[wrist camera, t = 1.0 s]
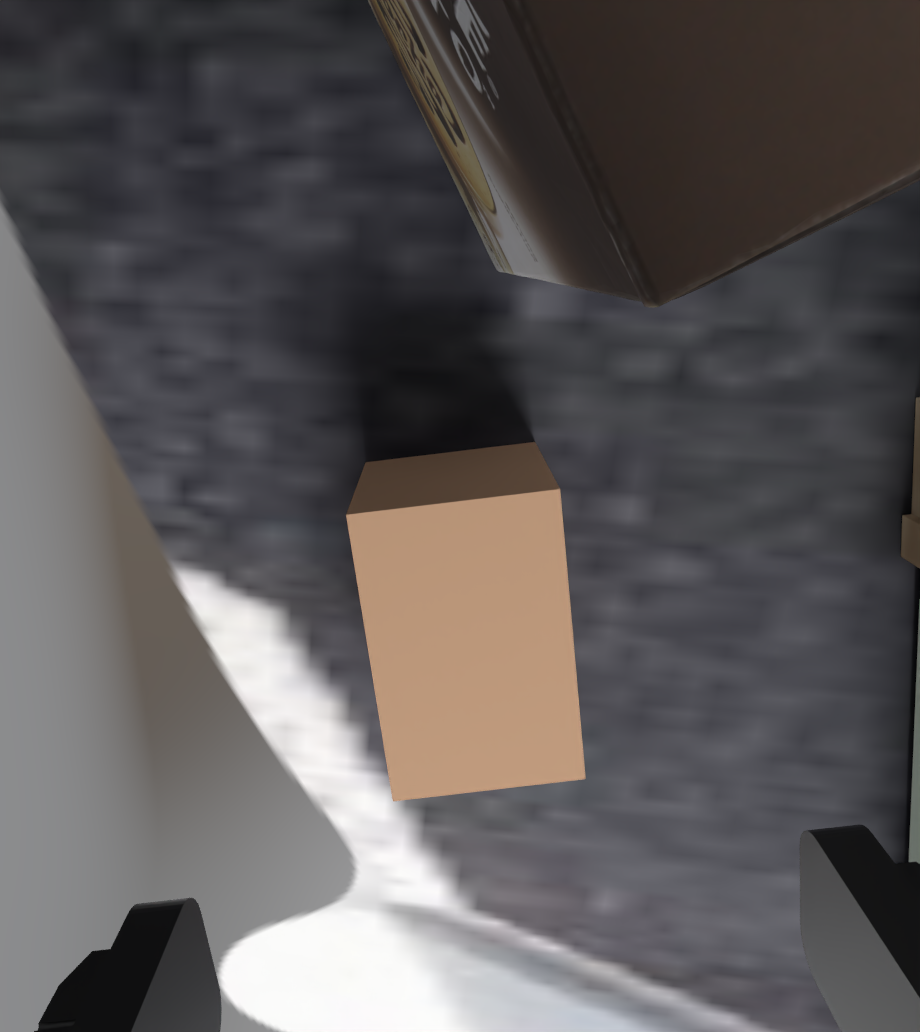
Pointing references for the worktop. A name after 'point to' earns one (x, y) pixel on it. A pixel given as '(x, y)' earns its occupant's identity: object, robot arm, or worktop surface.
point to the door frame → (913, 504)
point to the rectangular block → (468, 620)
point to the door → (916, 771)
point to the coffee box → (661, 127)
